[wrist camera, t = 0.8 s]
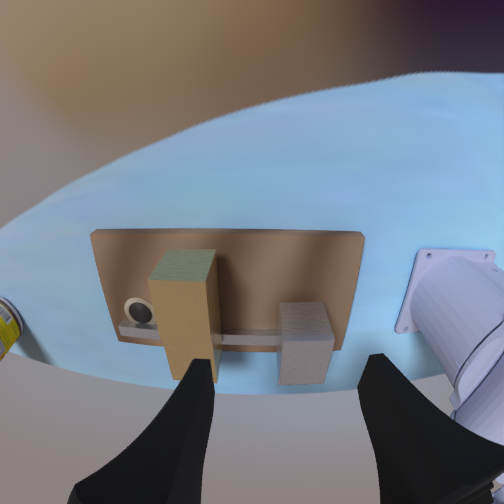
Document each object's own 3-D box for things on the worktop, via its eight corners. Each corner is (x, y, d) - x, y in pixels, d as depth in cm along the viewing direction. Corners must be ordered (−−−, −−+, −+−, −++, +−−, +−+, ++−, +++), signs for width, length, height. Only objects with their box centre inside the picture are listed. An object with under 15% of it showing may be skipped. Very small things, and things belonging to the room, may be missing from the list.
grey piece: (327, 295, 20) (343, 339, 15) (320, 337, 21) (330, 382, 17) (113, 289, 20) (85, 326, 16) (124, 329, 22) (103, 368, 17)
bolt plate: (360, 231, 19) (365, 237, 18) (338, 342, 23) (341, 351, 22) (96, 229, 19) (89, 234, 18) (122, 334, 23) (118, 342, 22)
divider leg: (217, 244, 18) (205, 281, 14) (223, 340, 21) (216, 386, 17) (171, 243, 18) (147, 279, 14) (185, 338, 21) (172, 382, 17)
